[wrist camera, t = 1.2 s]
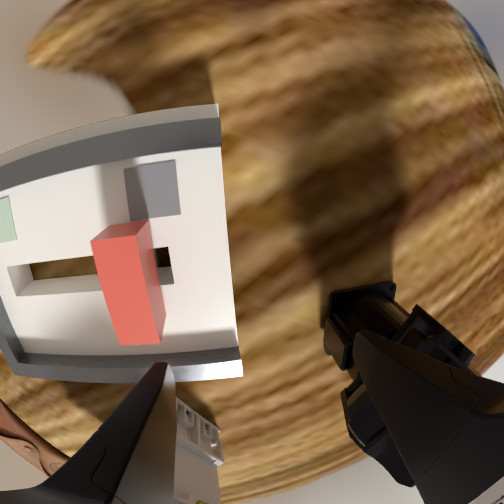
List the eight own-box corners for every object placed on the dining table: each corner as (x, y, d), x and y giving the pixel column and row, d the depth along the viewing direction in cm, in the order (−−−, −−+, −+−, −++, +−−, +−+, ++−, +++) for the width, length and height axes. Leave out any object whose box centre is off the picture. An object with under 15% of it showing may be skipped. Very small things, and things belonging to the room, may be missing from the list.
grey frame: (219, 120, 14) (220, 117, 13) (240, 361, 20) (242, 375, 18) (-37, 185, 12) (-49, 189, 10) (21, 364, 17) (14, 374, 16)
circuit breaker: (90, 429, 25) (69, 531, 11) (174, 394, 24) (171, 540, 10) (134, 457, 27) (128, 552, 13) (220, 429, 26) (236, 550, 12)
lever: (156, 211, 17) (135, 235, 12) (170, 295, 19) (160, 343, 14) (121, 215, 17) (90, 241, 12) (138, 298, 19) (120, 345, 14)
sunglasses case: (85, 466, 28) (68, 494, 22) (70, 453, 31) (55, 477, 26) (-6, 392, 21) (-27, 422, 16) (-8, 385, 25) (-27, 411, 20)
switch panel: (216, 111, 17) (218, 103, 14) (237, 347, 23) (241, 372, 20) (-16, 168, 14) (-39, 173, 11) (37, 354, 20) (25, 373, 17)
